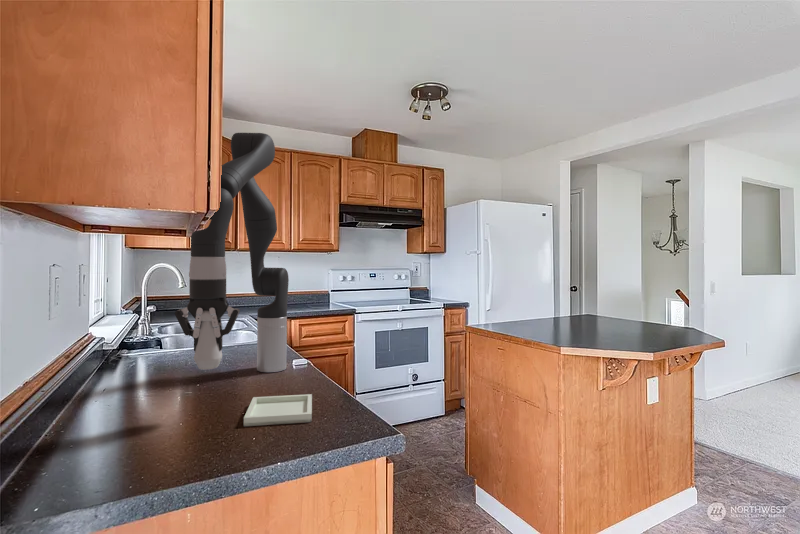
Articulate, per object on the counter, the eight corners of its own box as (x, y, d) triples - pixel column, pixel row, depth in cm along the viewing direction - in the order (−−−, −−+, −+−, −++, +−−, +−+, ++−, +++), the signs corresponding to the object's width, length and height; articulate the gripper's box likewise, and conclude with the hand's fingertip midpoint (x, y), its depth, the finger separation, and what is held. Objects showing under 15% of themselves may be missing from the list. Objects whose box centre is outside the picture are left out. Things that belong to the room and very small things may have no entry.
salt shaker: (211, 371, 90) (211, 312, 90) (188, 369, 91) (187, 311, 91) (227, 364, 96) (227, 308, 95) (205, 363, 97) (205, 308, 97)
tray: (253, 404, 101) (253, 397, 101) (311, 401, 104) (311, 394, 104) (243, 426, 87) (243, 417, 87) (311, 421, 90) (311, 413, 90)
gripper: (243, 276, 98) (243, 348, 98) (179, 276, 95) (179, 351, 96) (238, 278, 91) (238, 356, 91) (168, 278, 88) (168, 358, 88)
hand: (208, 353), depth 93 cm, fingers closed on salt shaker, 3 cm apart
